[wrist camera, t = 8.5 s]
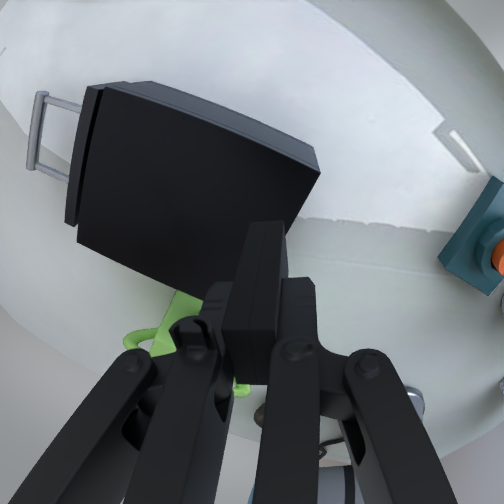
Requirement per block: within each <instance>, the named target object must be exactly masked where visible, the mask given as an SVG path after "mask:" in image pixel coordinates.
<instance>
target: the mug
mask: <svg viewBox="0 0 504 504" xmlns="http://www.w3.org/2000/svg"><path fill="white" fill-rule="evenodd" d="M501 307H502V311H503V314H504V295H503V298H502V303H501Z"/></svg>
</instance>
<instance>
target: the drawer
mask: <svg viewBox="0 0 504 504" xmlns="http://www.w3.org/2000/svg"><path fill="white" fill-rule="evenodd" d="M127 83H128V82H125V81H122V82H114V83H106V84H99V85H93V86H87V89H86V92H85V96H84V100H83V104H82V105H79V104H76V103H72V102H69V101H66V100H62V99H59V98H56V97H52V96H49V92H47V91H37V92H36V95H35V100H34V106H33V112H32V118H31V125H30V132H29V141H28V150H27V162H26V169H27V170H30V171H33V170H36V169H37V170H39V171H41V172H43V173H45V174H47V175H50V176H52V177H54V178H56V179H58V180H61V181H63V182H65V183H67V184H68V189H67V198H66V209H65V221H64V222H65V223H66V224H68V225H70V226H72V227H75V226H76V225H77V224H78V222H79V213H80V205H81V197H82V190H83V183H84V177H85V171H86V165H87V160H88V154H89V149H90V144H91V140H92V135H93V131H94V126H95V122H96V118H97V114H98V110H99V106H100V102H101V98H102V95H103V91H104V88H105V86H111V85H119V84H127ZM47 103H49V104H52V105H55V106H58V107H61V108H64V109H68V110H71V111H74V112H77V113H80V118H79V122H78V127H77V132H76V137H75V142H74V148H73V154H72V160H71V167H70V174H69V175H67V174H65V173H62V172H60V171H58V170H56V169H53V168H51V167H49V166H47V165H44V164H42V163H40V162H39V154H40V146H41V138H42V131H43V124H44V118H45V113H46V107H47Z"/></svg>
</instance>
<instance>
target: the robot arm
mask: <svg viewBox="0 0 504 504" xmlns="http://www.w3.org/2000/svg"><path fill="white" fill-rule="evenodd" d="M168 331H169V333H170V336H171V338H172V340H173V343H174V345H175V347H176V351H175V352H173V353H169V354H165V355H160V356H155V357H151V356H150V354H149V352H147V351H146V350H144V349H140V348H134V349H129V350H127V351H125V352H123V353H122V354H121V355H120V356H119V357H117V359H116V360H115V361H114V362H113V364H112V365H111V366H110V367H109V369H108V370H107V371H106V372H105V374H104V375H103V376H102V377H101V379H100V380H99V381H98V382H97V384H96V385H95V386H94V388H93V389H92V390H91V391H90V393H89V394H88V395H87V397H86V398H85V399H84V400H83V402H82V403H81V405H80V406H79V407H78V408H77V409H76V411H75V412H74V413H73V415H72V416H71V417H70V419H69V420H68V421H67V423H66V424H65V425H64V427H63V428H62V429H61V430H60V432H59V433H58V434H57V436H56V437H55V438H54V440H53V441H52V443H51V444H50V445H49V447H48V448H47V449H46V451H45V452H44V454H43V455H42V456H41V457H40V459H39V460H38V462H37V463H36V464H35V466H34V467H33V469H32V470H31V471H30V473H29V474H28V476H27V477H26V478H25V480H24V481H23V483H22V484H21V486H20V487H19V488H18V490H17V491H16V493H15V494H14V496H13V497H12V498H11V500H10V501H9V503H8V504H120V503H121V501H122V500H123V498H124V497H125V498H124V502H123V504H214V501H215V496H216V491H217V486H218V480H219V476H220V470H221V465H222V460H223V455H224V450H225V445H226V440H227V434H228V429H229V424H230V419H231V413H232V408H233V403H234V391H233V388H232V386H233V381H234V376H235V380H236V383H237V384H242V385H267V394H266V402H265V410H264V418H263V426H262V434H261V441H260V450H259V457H258V464H257V471H256V478H255V484H254V486H253V488H252V491H251V494H250V497H249V500H248V504H458V503H457V501H456V498H455V495H454V493H453V491H452V488H451V486H450V483H449V481H448V479H447V476H446V474H445V472H444V469H443V467H442V465H441V462H440V460H439V458H438V456H437V453H436V451H435V449H434V447H433V445H432V443H431V440H430V438H429V436H428V434H427V432H426V430H425V428H424V426H423V423H422V421H423V414H424V410H425V403H424V399H423V395H422V393H421V392H420V391H419V390H417V389H415V388H412V387H406V386H404V385H403V383H402V381H401V379H400V378H399V376H398V374H397V372H396V370H395V368H394V366H393V364H392V362H391V360H390V359H389V358H388V357H387V356H386V354H384V353H382V352H380V351H379V350H375V349H369V348H368V349H360V350H358V351H355V352H353V353H352V354H351V355H350V356H349V357H348V356H343V355H338V354H335V353H332V352H330V351H328V350H326V349H325V348H324V347H323V346H322V345H321V343H320V342H319V340H318V334H317V312H316V294H315V285H314V283H313V282H312V281H311V279H310V278H309V277H298V278H288V261H287V249H286V239H285V228H284V220H280V221H264V222H250V225H249V229H248V232H247V236H246V239H245V243H244V246H243V250H242V253H241V257H240V260H239V264H238V268H237V271H236V275H235V278H234V281H216V282H215V283H214V284H213V285H212V286H211V287H210V288H209V289H208V290H207V293H206V295H205V298H204V301H203V304H202V306H201V309H200V312H199V315H198V316H197V315H193V316H186V317H184V318H181V319H179V320H178V321H176V322H175V323H174V324H172V326H171V327H170V329H169V330H168ZM320 415H321V416H325V417H329V418H333V419H337V420H338V422H339V426H340V429H341V431H342V434H343V438H340V439H336V440H331V441H327V442H324V443H322V444H320V445H319V442H320ZM344 441H345V443H346V446H347V449H348V453H349V456H350V459H351V465H347V466H334V467H319V460H320V459H321V458H322V457H324V456H325V455H326V453H327V451H326V450H325V449H324V448H323V447H324V446H327V445H332V444H337V443H341V442H344ZM319 450H320V451H322V452H323V453H322V454H321V455H319Z"/></svg>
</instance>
